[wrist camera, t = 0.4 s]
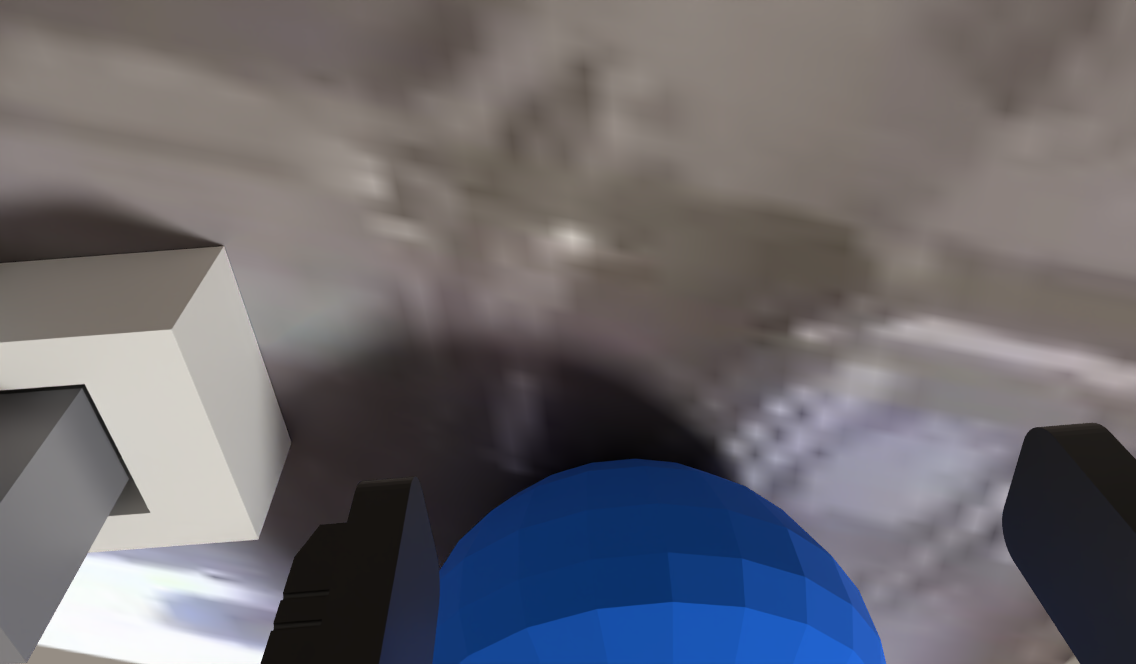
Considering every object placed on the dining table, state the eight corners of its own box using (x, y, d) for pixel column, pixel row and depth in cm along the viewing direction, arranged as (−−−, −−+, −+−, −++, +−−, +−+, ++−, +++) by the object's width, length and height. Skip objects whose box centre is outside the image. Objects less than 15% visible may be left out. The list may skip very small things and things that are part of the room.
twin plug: (5, 342, 28) (-209, 579, 20) (120, 334, 28) (-46, 566, 20) (53, 429, 30) (-120, 673, 22) (160, 421, 30) (26, 662, 22)
